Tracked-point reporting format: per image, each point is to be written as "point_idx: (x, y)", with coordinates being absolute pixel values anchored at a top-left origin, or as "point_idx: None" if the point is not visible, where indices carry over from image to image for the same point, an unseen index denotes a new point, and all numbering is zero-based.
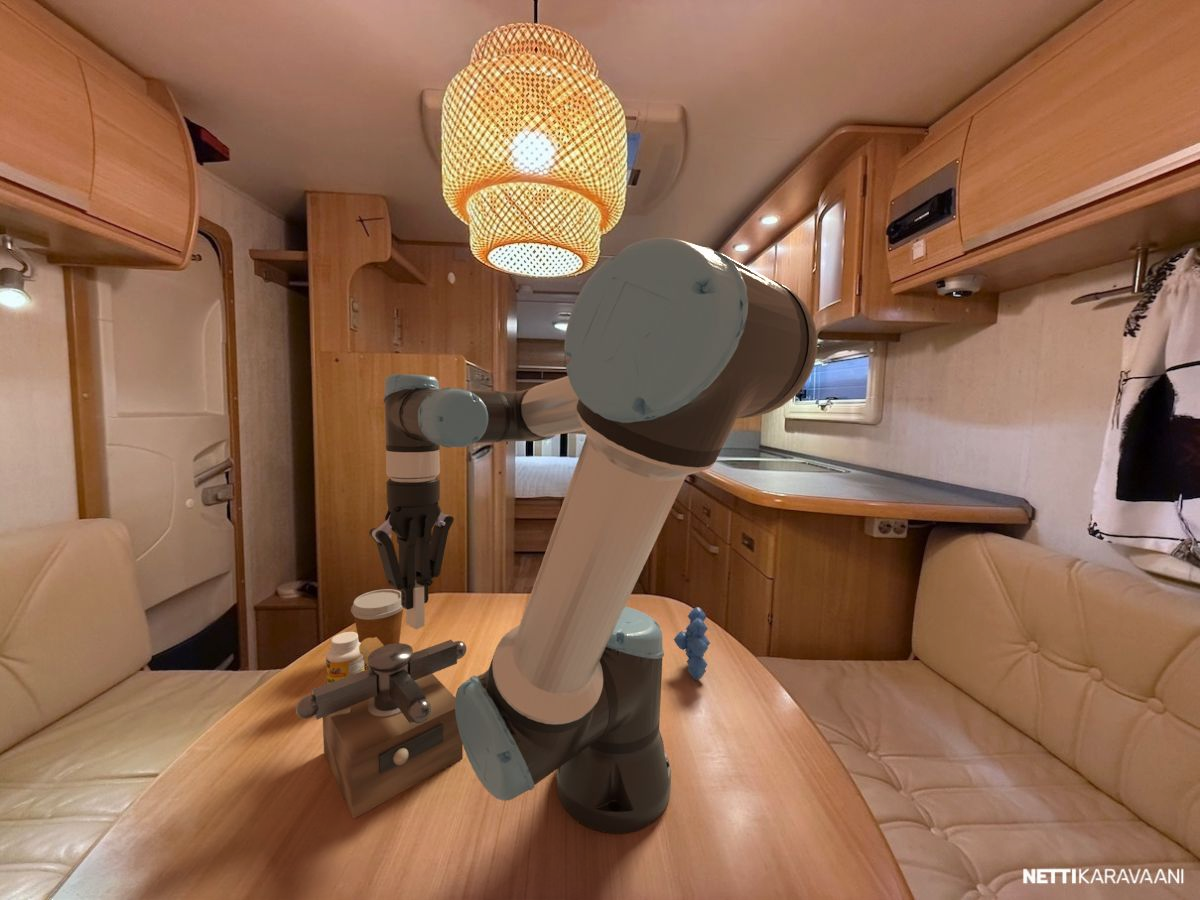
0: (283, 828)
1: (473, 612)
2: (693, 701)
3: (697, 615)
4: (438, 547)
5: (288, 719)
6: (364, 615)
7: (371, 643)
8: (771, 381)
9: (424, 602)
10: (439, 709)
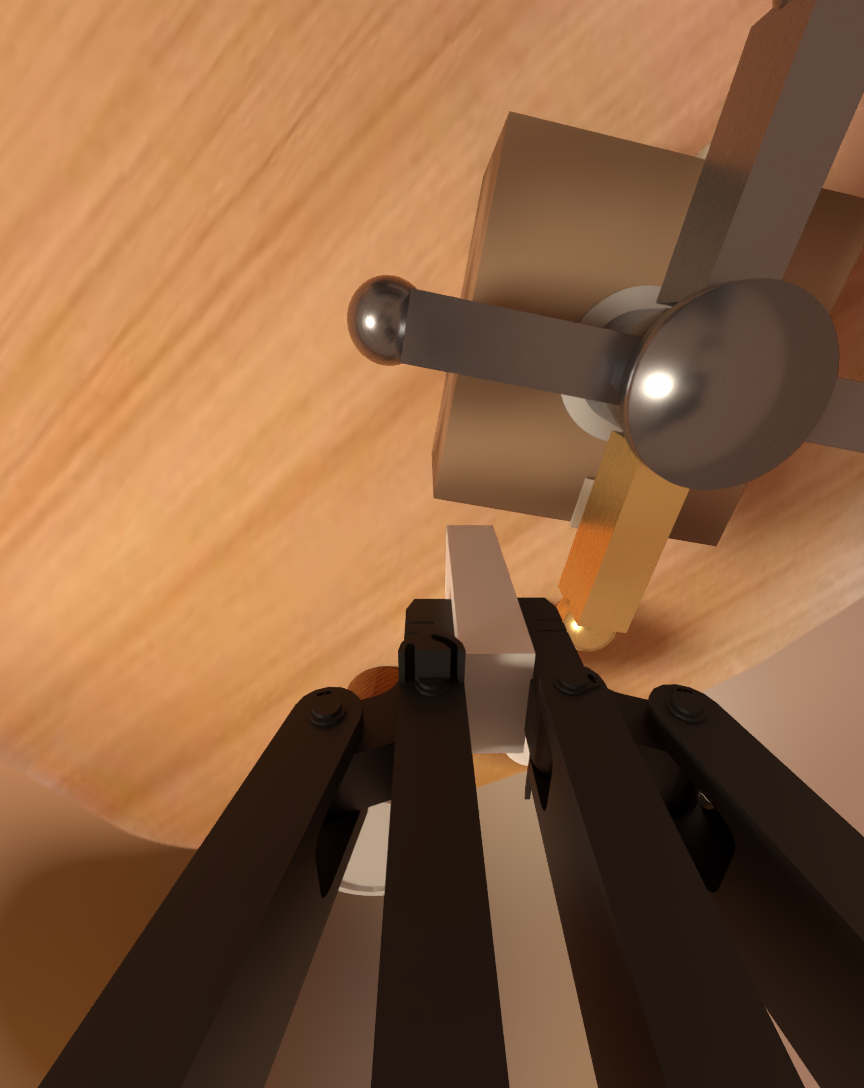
0: None
1: (93, 713)
2: None
3: None
4: (200, 1055)
5: (620, 638)
6: None
7: (620, 597)
8: None
9: (433, 602)
10: (577, 172)
